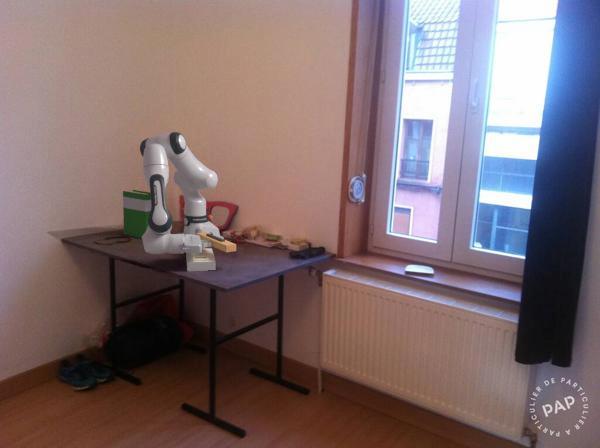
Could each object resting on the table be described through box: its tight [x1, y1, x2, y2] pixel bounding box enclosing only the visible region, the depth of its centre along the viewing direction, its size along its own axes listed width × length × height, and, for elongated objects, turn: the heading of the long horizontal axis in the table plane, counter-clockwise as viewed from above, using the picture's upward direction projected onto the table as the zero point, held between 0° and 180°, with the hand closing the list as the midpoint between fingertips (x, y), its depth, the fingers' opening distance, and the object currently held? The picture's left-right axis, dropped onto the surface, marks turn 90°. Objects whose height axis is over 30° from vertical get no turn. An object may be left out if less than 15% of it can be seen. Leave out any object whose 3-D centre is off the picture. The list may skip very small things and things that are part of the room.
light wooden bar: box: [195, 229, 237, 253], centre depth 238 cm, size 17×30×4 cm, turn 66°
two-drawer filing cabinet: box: [185, 247, 217, 272], centre depth 239 cm, size 29×12×8 cm, turn 14°
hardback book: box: [122, 189, 151, 239], centre depth 284 cm, size 18×7×24 cm, turn 58°
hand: (211, 243), depth 234 cm, fingers closed
